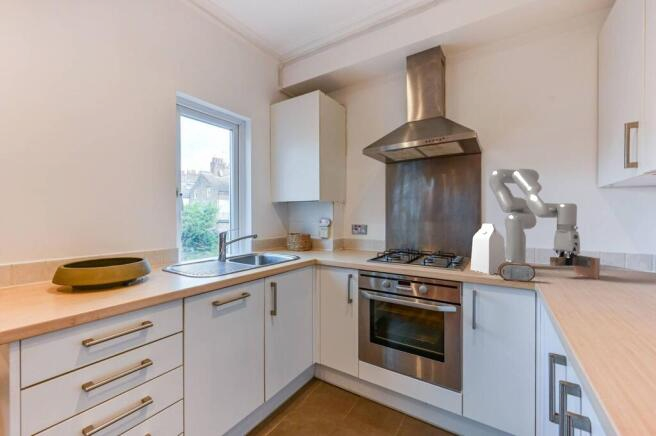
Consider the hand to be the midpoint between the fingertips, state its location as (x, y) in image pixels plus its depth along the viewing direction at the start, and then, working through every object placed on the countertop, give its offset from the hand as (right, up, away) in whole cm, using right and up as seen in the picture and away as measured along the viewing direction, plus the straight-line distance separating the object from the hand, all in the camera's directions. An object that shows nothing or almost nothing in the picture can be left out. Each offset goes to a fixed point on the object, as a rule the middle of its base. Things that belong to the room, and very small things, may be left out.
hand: (565, 264), depth 141 cm
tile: (+12, -6, +1) cm, 13 cm away
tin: (-29, -7, -7) cm, 31 cm away
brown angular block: (-1, 0, 0) cm, 1 cm away
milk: (-32, -6, +13) cm, 35 cm away
